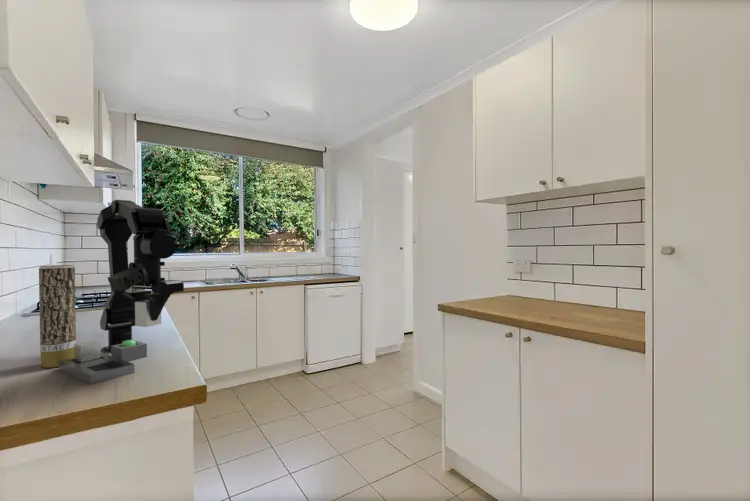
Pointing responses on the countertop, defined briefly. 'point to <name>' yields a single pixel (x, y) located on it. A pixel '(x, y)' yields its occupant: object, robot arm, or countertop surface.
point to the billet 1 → (87, 351)
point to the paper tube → (57, 314)
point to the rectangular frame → (97, 368)
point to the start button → (128, 343)
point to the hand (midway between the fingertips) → (148, 319)
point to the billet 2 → (144, 314)
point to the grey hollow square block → (129, 351)
